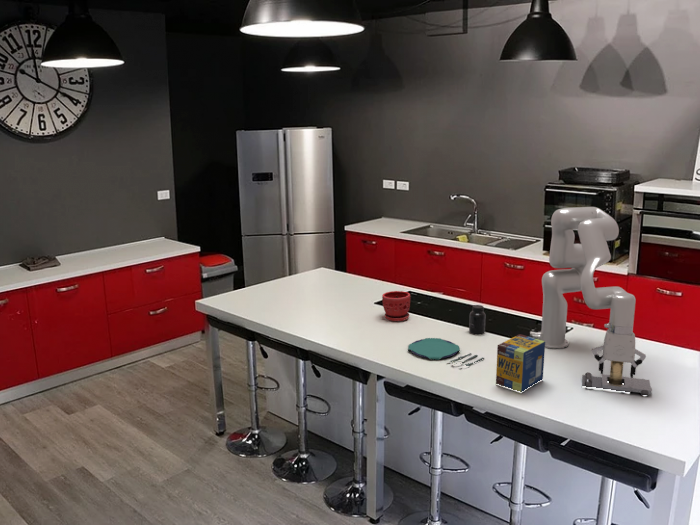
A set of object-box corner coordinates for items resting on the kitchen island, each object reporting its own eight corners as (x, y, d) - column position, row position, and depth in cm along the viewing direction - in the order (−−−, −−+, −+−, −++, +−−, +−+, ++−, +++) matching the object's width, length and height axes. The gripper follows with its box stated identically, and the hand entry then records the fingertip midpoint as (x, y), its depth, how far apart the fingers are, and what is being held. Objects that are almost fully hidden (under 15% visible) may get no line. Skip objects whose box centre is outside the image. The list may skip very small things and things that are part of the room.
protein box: (495, 385, 223) (496, 344, 219) (518, 372, 233) (520, 333, 230) (521, 394, 216) (523, 352, 212) (543, 380, 226) (546, 340, 222)
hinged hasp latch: (581, 388, 219) (582, 382, 219) (582, 377, 228) (582, 371, 227) (650, 397, 212) (651, 391, 211) (648, 385, 220) (649, 379, 220)
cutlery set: (432, 338, 269) (432, 333, 268) (488, 360, 246) (488, 355, 246) (399, 351, 256) (399, 346, 256) (454, 375, 234) (455, 369, 233)
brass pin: (609, 388, 219) (611, 362, 216) (608, 384, 222) (611, 357, 220) (621, 390, 217) (623, 363, 215) (620, 385, 221) (623, 359, 219)
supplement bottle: (467, 333, 274) (467, 307, 271) (471, 328, 279) (472, 303, 277) (482, 336, 270) (483, 309, 268) (486, 331, 276) (487, 305, 273)
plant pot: (410, 314, 300) (410, 290, 298) (410, 323, 288) (410, 298, 285) (383, 313, 302) (382, 289, 299) (381, 322, 289) (381, 298, 286)
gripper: (593, 329, 214) (590, 375, 218) (649, 334, 208) (644, 382, 212) (593, 322, 221) (590, 367, 225) (647, 327, 215) (642, 373, 219)
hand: (616, 374), depth 219 cm, fingers open, 9 cm apart
